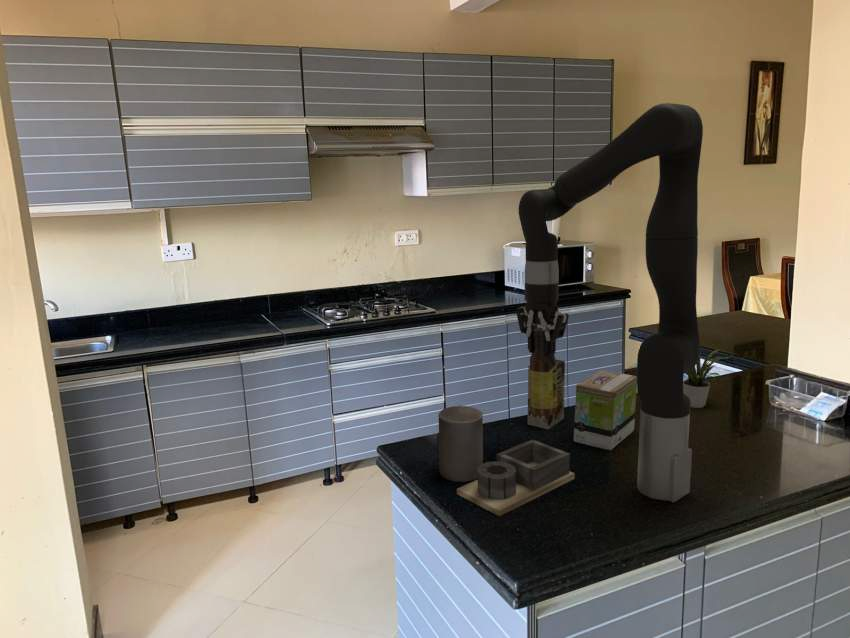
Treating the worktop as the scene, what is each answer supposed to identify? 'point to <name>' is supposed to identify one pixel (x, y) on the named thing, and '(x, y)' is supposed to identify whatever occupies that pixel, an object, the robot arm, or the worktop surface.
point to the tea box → (605, 409)
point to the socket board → (518, 477)
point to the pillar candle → (460, 443)
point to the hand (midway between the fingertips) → (541, 353)
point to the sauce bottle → (542, 378)
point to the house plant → (699, 382)
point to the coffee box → (553, 419)
